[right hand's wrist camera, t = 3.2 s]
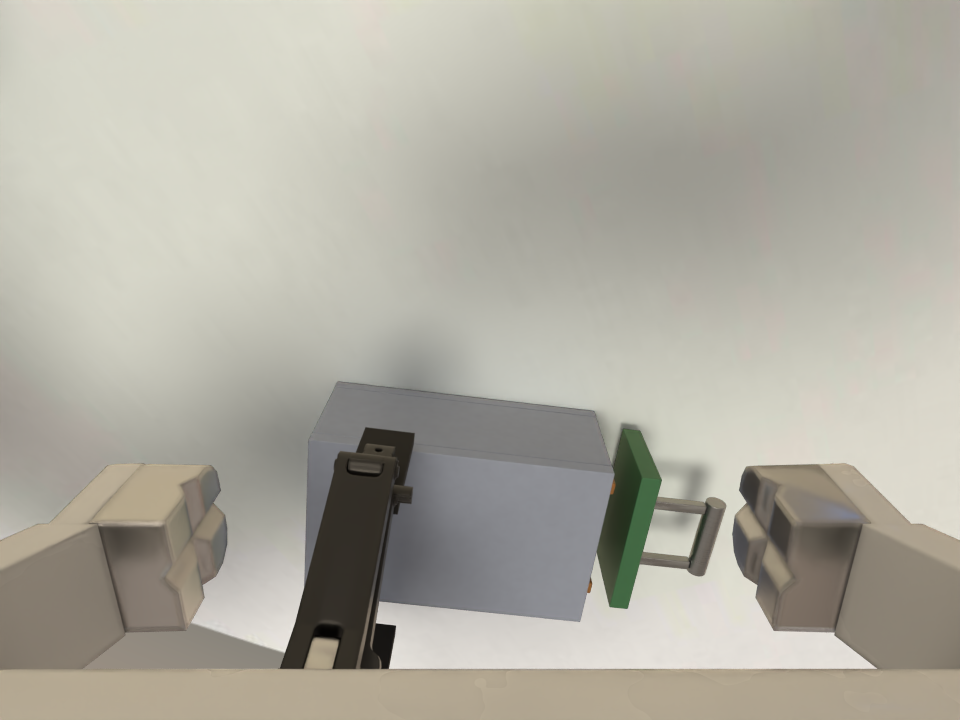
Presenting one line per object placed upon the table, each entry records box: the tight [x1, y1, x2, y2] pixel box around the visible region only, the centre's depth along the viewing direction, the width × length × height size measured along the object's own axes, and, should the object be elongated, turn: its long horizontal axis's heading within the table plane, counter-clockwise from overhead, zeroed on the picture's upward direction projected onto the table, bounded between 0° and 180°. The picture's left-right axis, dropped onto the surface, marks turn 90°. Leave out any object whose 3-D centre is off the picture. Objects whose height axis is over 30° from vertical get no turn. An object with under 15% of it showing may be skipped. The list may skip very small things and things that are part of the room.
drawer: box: [587, 429, 726, 609], centre depth 44 cm, size 21×10×6 cm, turn 83°
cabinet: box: [304, 382, 615, 622], centre depth 43 cm, size 17×11×8 cm, turn 83°
